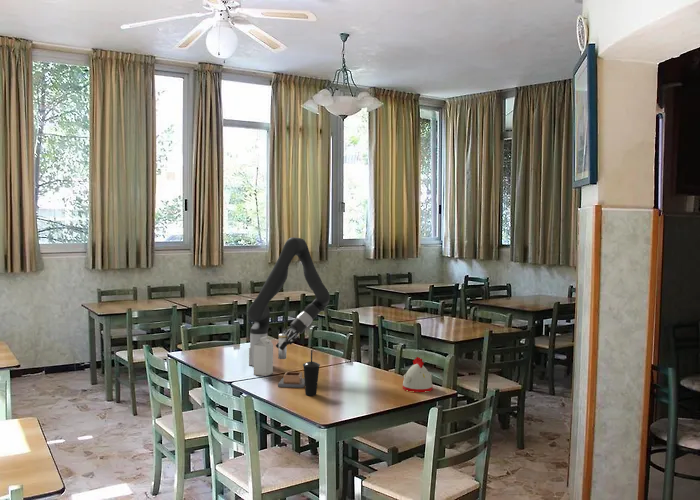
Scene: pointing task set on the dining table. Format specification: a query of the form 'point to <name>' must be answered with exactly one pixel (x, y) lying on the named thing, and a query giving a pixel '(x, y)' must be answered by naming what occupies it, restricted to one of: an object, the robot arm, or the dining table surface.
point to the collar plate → (292, 380)
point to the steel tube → (281, 339)
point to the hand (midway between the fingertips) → (278, 347)
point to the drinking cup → (311, 377)
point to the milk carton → (263, 357)
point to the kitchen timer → (417, 378)
